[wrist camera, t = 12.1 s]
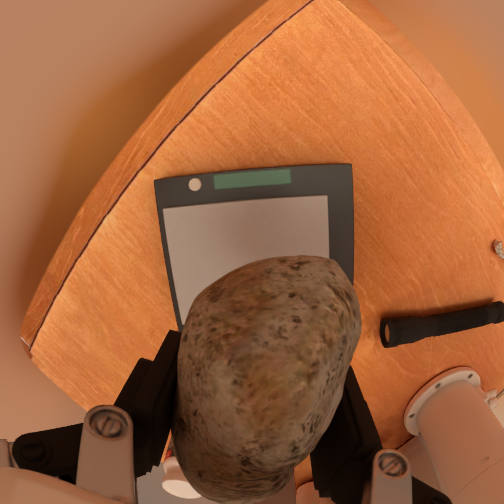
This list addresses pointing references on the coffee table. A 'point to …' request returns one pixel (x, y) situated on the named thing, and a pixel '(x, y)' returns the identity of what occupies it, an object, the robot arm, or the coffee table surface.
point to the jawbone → (499, 249)
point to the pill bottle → (176, 477)
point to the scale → (251, 222)
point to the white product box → (422, 463)
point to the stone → (261, 374)
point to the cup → (310, 495)
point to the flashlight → (438, 324)
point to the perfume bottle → (283, 495)
